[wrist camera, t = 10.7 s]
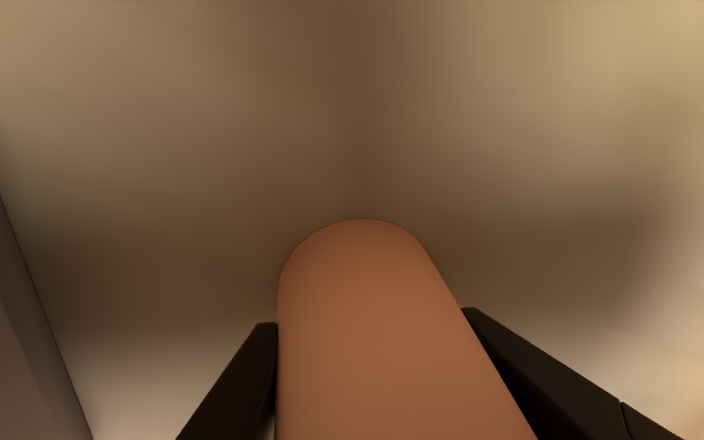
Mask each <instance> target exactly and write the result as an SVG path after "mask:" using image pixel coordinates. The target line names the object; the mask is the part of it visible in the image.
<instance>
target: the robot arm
mask: <svg viewBox="0 0 704 440" xmlns="http://www.w3.org/2000/svg"><path fill="white" fill-rule="evenodd" d="M460 309H461V311H462V313H463V314H464V316H465V318H466V319H467V321H468V323H469V324H470V326H471V328H472V329H473V331H474V333H475V334H476V336H477V338H478V340H479V341H480V343H481V345H482V346H483V348H484V350H485V351H486V353H487V355H488V356H489V358H490V360H491V361H492V363H493V365H494V366H495V368H496V370H497V372H498V373H499V375H500V377H501V378H502V380H503V382H504V383H505V385H506V387H507V388H508V390H509V392H510V393H511V395H512V397H513V398H514V400H515V402H516V404H517V405H518V407H519V409H520V410H521V412H522V414H523V415H524V417H525V419H526V420H527V422H528V424H529V425H530V427H531V429H532V431H533V432H534V434H535V436H536V437H537V439H538V440H684V439H682V438H681V437H679V436H677V435H675V434H674V433H672V432H670V431H669V430H667V429H665V428H664V427H662V426H661V425H659V424H657V423H656V422H654V421H653V420H651V419H649V418H648V417H646V416H644V415H643V414H641V413H640V412H638V411H637V410H635V409H633V408H632V407H630V406H629V405H627V404H626V403H624V402H620V401H619V399H618V398H616V397H614V396H613V395H611V394H610V393H608V392H607V391H605V390H603V389H602V388H600V387H599V386H597V385H596V384H594V383H592V382H591V381H589V380H588V379H586V378H585V377H583V376H582V375H580V374H578V373H577V372H575V371H574V370H572V369H571V368H569V367H567V366H566V365H564V364H563V363H561V362H560V361H558V360H556V359H555V358H553V357H552V356H550V355H549V354H547V353H546V352H544V351H542V350H541V349H539V348H538V347H536V346H535V345H533V344H531V343H530V342H528V341H527V340H525V339H524V338H522V337H520V336H519V335H517V334H516V333H514V332H513V331H511V330H510V329H508V328H506V327H505V326H503V325H502V324H500V323H499V322H497V321H495V320H494V319H492V318H491V317H489V316H488V315H486V314H484V313H483V312H481V311H480V310H478V309H477V308H474V307H466V308H460ZM276 361H277V323H276V322H262V323H258V324H257V325H256V326H255V327H254V329H253V330H252V332H251V333H250V334H249V336H248V337H247V339H246V340H245V341H244V343H243V344H242V346H241V347H240V349H239V350H238V351H237V353H236V354H235V356H234V357H233V358H232V360H231V361H230V363H229V364H228V366H227V367H226V368H225V370H224V371H223V373H222V374H221V375H220V377H219V378H218V380H217V381H216V382H215V384H214V385H213V387H212V388H211V390H210V391H209V392H208V394H207V395H206V397H205V398H204V399H203V401H202V402H201V404H200V405H199V406H198V408H197V409H196V411H195V412H194V414H193V415H192V416H191V418H190V419H189V421H188V422H187V423H186V425H185V426H184V428H183V429H182V431H181V432H180V433H179V435H178V436H177V438H176V439H175V440H274V411H275V383H276Z"/></svg>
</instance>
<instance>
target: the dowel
mask: <svg viewBox="0 0 704 440" xmlns="http://www.w3.org/2000/svg"><path fill="white" fill-rule="evenodd" d="M274 440H538V439H537V437H536V436H535V434H534V432H533V431H532V429H531V427H530V425H529V424H528V422H527V420H526V419H525V417H524V415H523V414H522V412H521V410H520V409H519V407H518V405H517V404H516V402H515V400H514V398H513V397H512V395H511V393H510V392H509V390H508V388H507V387H506V385H505V383H504V382H503V380H502V378H501V377H500V375H499V373H498V372H497V370H496V368H495V366H494V365H493V363H492V361H491V360H490V358H489V356H488V355H487V353H486V351H485V350H484V348H483V346H482V345H481V343H480V341H479V340H478V338H477V336H476V334H475V333H474V331H473V329H472V328H471V326H470V324H469V323H468V321H467V319H466V318H465V316H464V314H463V313H462V311H461V309H460V308H459V306H458V304H457V302H456V301H455V299H454V297H453V296H452V294H451V292H450V291H449V289H448V287H447V286H446V284H445V282H444V281H443V279H442V277H441V276H440V274H439V272H438V270H437V269H436V267H435V265H434V264H433V262H432V260H431V259H430V257H429V255H428V254H427V252H426V250H425V249H424V247H423V246H422V244H421V243H420V242H419V241H418V240H417V239H416V238H415V237H414V236H413V235H412V234H410V233H409V232H408V231H406V230H404V229H403V228H401V227H399V226H396V225H394V224H392V223H388V222H385V221H381V220H374V219H353V220H346V221H342V222H337V223H334V224H332V225H329V226H326V227H324V228H322V229H320V230H318V231H316V232H315V233H313V234H312V235H310V236H308V237H307V238H306V239H305V240H304V241H302V242H301V243H300V244H299V245H298V246H297V247H296V248H295V249H294V250H293V252H292V253H291V255H290V256H289V257H288V259H287V261H286V263H285V265H284V266H283V269H282V272H281V275H280V279H279V285H278V314H277V361H276V383H275V411H274Z"/></svg>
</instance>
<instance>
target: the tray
mask: <svg viewBox="0 0 704 440" xmlns="http://www.w3.org/2000/svg"><path fill="white" fill-rule="evenodd" d="M0 440H93V439H92V436H91V434H90V431H89V429H88V426H87V423H86V421H85V418H84V416H83V413H82V410H81V408H80V405H79V403H78V400H77V397H76V395H75V392H74V390H73V387H72V385H71V382H70V379H69V377H68V374H67V372H66V369H65V366H64V364H63V361H62V359H61V356H60V353H59V351H58V348H57V346H56V343H55V340H54V338H53V335H52V333H51V330H50V327H49V325H48V322H47V320H46V317H45V314H44V312H43V309H42V307H41V304H40V301H39V299H38V296H37V294H36V291H35V288H34V286H33V283H32V281H31V278H30V275H29V273H28V270H27V268H26V265H25V262H24V260H23V257H22V255H21V252H20V249H19V247H18V244H17V242H16V239H15V236H14V234H13V231H12V229H11V226H10V224H9V221H8V218H7V216H6V213H5V211H4V208H3V205H2V203H1V200H0Z"/></svg>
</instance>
